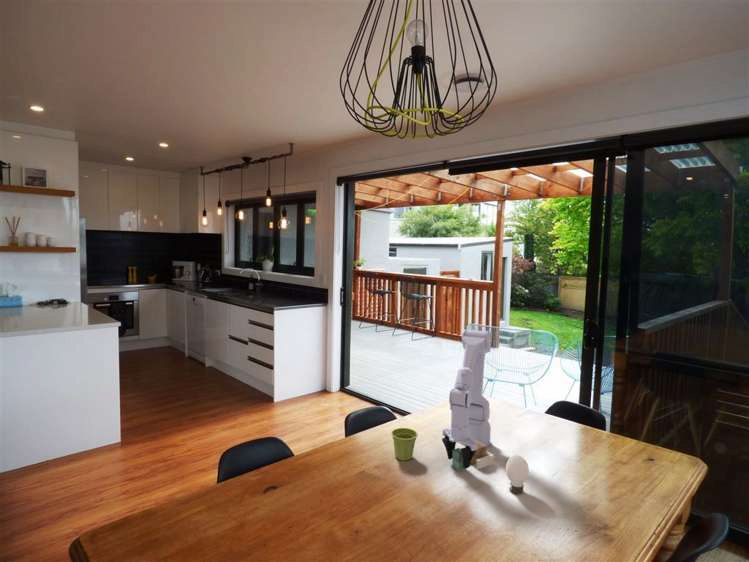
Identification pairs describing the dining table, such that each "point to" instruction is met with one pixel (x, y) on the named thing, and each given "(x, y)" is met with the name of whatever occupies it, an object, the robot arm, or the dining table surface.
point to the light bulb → (517, 473)
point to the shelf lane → (485, 461)
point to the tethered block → (481, 452)
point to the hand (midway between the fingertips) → (458, 462)
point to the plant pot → (404, 442)
